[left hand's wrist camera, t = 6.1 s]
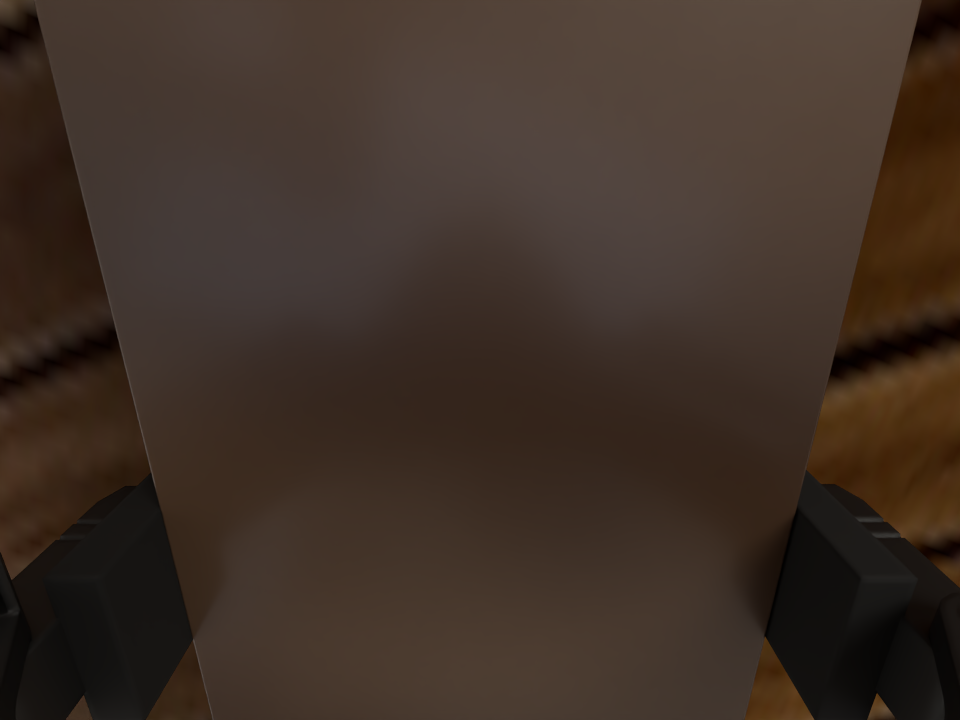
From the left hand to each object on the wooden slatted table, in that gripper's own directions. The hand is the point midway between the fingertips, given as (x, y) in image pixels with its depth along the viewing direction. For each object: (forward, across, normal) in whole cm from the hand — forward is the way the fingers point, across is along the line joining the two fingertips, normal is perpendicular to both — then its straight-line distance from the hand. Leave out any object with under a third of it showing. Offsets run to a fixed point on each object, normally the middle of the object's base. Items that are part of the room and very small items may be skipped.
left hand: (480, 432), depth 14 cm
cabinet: (+4, 0, -4) cm, 6 cm away
